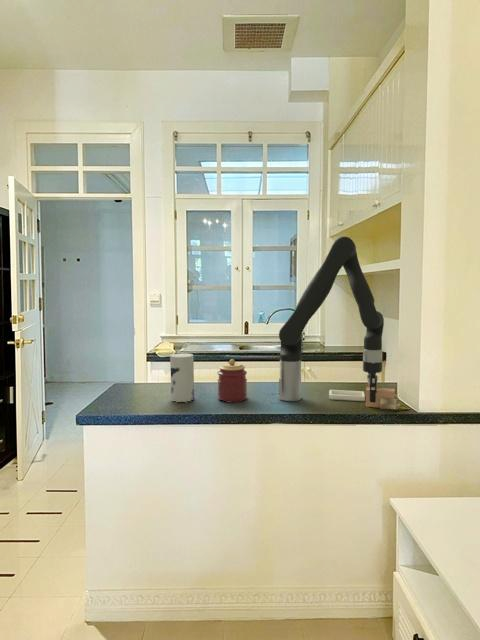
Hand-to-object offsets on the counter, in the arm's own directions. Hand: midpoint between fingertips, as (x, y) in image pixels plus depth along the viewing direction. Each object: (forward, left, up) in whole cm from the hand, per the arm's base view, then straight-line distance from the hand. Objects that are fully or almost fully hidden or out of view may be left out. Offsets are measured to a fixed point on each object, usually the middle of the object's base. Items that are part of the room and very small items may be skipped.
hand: (372, 399), depth 177 cm
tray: (-10, +10, -2) cm, 14 cm away
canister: (-59, -2, -3) cm, 59 cm away
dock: (+6, 0, -2) cm, 7 cm away
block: (+3, 0, -3) cm, 4 cm away
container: (-80, -8, -3) cm, 80 cm away
